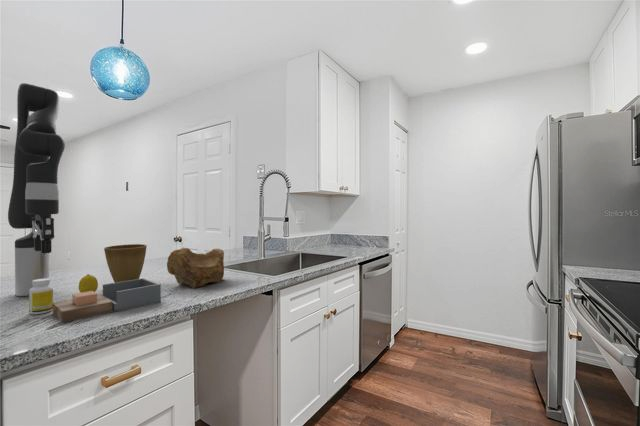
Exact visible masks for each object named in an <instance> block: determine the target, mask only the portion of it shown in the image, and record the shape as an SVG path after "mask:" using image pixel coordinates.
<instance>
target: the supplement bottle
mask: <svg viewBox="0 0 640 426" xmlns="http://www.w3.org/2000/svg"><path fill="white" fill-rule="evenodd" d="M50 284H51V278H49V279H37V280H33V281H32V286H33V288H31V289H30V290H29V296H28V314H30V315H41V314H46V313H50V312H53V303H54V301H53V300H54V287H53V286H52V285H50Z"/></svg>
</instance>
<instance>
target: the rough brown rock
mask: <svg viewBox="0 0 640 426" xmlns="http://www.w3.org/2000/svg"><path fill="white" fill-rule="evenodd" d="M224 258H225V252H224V250H223V249H221V248H213V249H211V250H210V251H208V252H206V253H196V252H193V251H192V250H191V249H189V248H188V247H181V248H179V249H175V250H173V251H171V252H170V254H169V255H168V257H167V262H166V267H167V269H166V271H167V272H168V273H169V274H170V275H172V276H174V277H175V280H176V282H177V284H179V285H181V286H184V285H186V286H189V287H190V288H192V289H197V288H199V287H203V286H204V285H206V284H208V283H220V282H221V281H222V280H223V279H224V274H225V272H224V271H225V266H224V265H225V264H224V263H225V262H224Z"/></svg>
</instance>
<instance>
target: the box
mask: <svg viewBox="0 0 640 426" xmlns="http://www.w3.org/2000/svg"><path fill="white" fill-rule="evenodd" d="M161 289H162V285H161V284H160V283H158V282H155V281H153V280H150V279H147V278H139V279H136V280H129V281H123V282H117V283H115V282H112V283H111V282H110V283H105V284H102V295H101V294H100V295H101V296H103V297H105V298H107V299H108V300H110V301H112V302H113V312H114V313H116V312H121V311H126V310H131V309H134V308H140V307H144V306H148V305H153V304H154V305H155V304H158V303H161V299H162V295H161V294H162V290H161Z"/></svg>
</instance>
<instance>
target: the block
mask: <svg viewBox="0 0 640 426" xmlns="http://www.w3.org/2000/svg"><path fill="white" fill-rule="evenodd" d="M97 295H98V293H97V292H93V291H88V292H82V293H80V292H77V293H72V297H71V298H72V299H71V300H72V302H73V303H74V304H75V305H77V306H78V305H83V304H88V303H94V302H97Z"/></svg>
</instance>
